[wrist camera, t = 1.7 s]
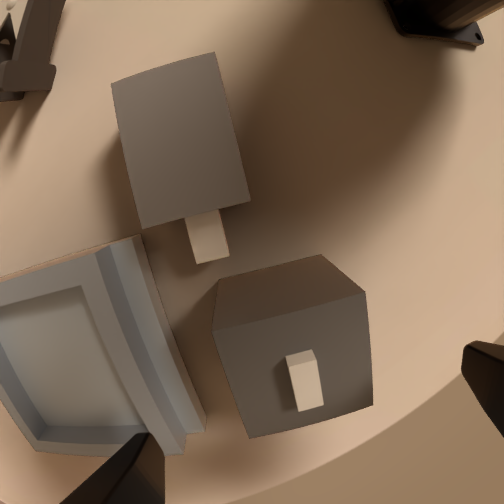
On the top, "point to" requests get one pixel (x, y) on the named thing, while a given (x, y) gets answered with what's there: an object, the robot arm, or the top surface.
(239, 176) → the cable plug
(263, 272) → the brick
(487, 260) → the top surface
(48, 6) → the clip-on lamp
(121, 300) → the blue gray tray
